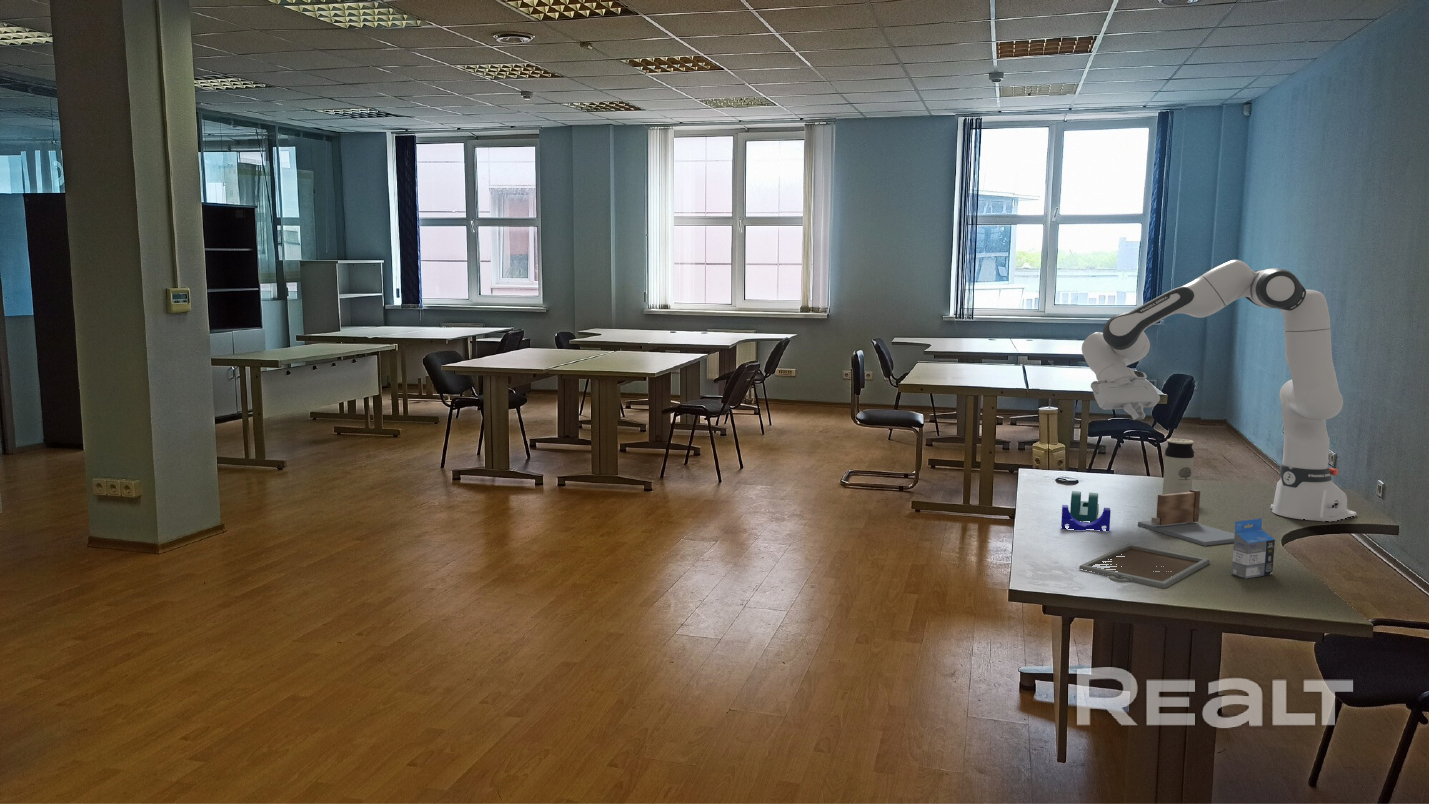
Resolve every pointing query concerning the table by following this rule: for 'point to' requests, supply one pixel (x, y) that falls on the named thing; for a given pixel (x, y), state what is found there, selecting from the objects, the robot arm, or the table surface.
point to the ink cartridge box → (1252, 550)
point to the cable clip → (1077, 525)
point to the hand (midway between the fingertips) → (1140, 418)
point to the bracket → (1084, 507)
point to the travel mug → (1178, 466)
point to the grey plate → (1193, 532)
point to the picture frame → (1146, 565)
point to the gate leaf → (1177, 508)
